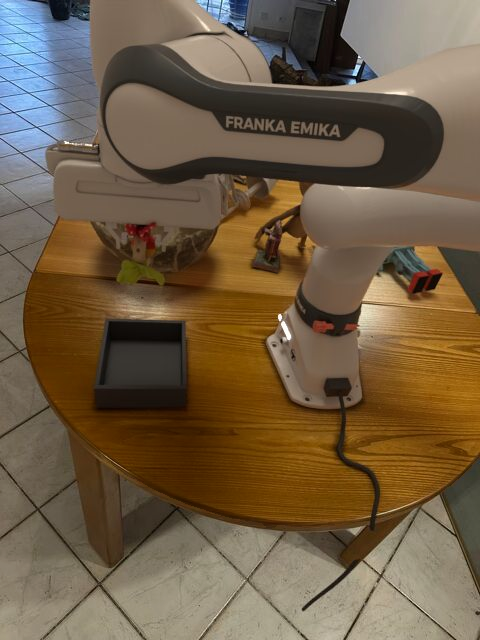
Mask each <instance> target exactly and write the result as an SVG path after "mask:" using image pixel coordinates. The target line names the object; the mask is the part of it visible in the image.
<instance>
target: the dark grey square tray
mask: <svg viewBox="0 0 480 640" xmlns="http://www.w3.org/2000/svg"><path fill="white" fill-rule="evenodd" d="M101 337H102V338H101V342H100V350H99V354H98V359H97V367H96V371H95V380H94V385H93V392H94V393H93V394H94V398H95V403H96V404H95V405H96V408H98V409H99V408H102V409H103V408H105V409H107V408H108V409H109V408H111V409H112V408H186V400H187V393H188V375H187V373H188V372H187V369H188V368H187V367H188V366H187V322H186V320H175V319H174V320H173V319H144V318H143V319H141V318H140V319H139V318H114V317H113V318H112V317H111V318H110V317H109V318H108V317H105V319H104V324H103V330H102V336H101Z"/></svg>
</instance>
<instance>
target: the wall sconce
mask: <svg viewBox="0 0 480 640" xmlns="http://www.w3.org/2000/svg"><path fill="white" fill-rule="evenodd" d="M217 175H218V180H219V186H220V194H221V220H223V219H225V217H227V216H229V214H231V213H232V212H233V211H234V210H236V209H237V208H239V209H240V210H243V211H248V210H249V209H250V207H251V199H250V198H252V197H254V198H256V199H258V200H265V199H267V198H268V197H269V195H270V193H271V192H272V191H273V189H274V187H275V186H276V184H277V183H278V182H279V180H276V179H267V178H258V177H248V176H245V178H246V181H245V184H246V187H247V189H245V191H244V190H242V189H240V188H236V186H235V182H234V181H235V180H233V177H232V175H228V174H222V175H220V174H217ZM222 196H224V202H223V198H222ZM229 200H230V202H231V203H232V205H231V206H230V207H229ZM221 220H220V221H221Z"/></svg>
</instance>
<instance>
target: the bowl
mask: <svg viewBox="0 0 480 640" xmlns="http://www.w3.org/2000/svg"><path fill="white" fill-rule="evenodd" d="M89 223H90V224H91V227H92V228H93V230H94V231H95V233H96V235H97V237H98V239H99V240H100V241H101V243H102V244H103V245H104V247H105V248H106V249H107V250H108V251H109V252H110V253H111V254H112V255H113V256H114V257H115V258H117V259H118V260H120V261H121V263H122V262H123V261H124V260H130V261H131V262H132V257H133V251H132V248H131V242H132V239H133V236H131V235H129V234H128V240H129V244H128V250H123V249H116V239H114V238H113V236H112V235H111V234H110V233H109V232H108V230H107V229H106V223H105V222H92V221H89ZM118 227H119V228H120V230H121V231H122V232H127V231H126V230H125V227H126V224H122V223H118ZM219 227H220V224H219V225H218V226H217V227H216V228H214V229H198V228H183V227H175V230H174V234H173V235H172V236H171V238H170V239H169V240H168V241H167V242H166V250H165V252H161V251H156V252H155V254H154V255H153V256H151V258H150V264H149V266H148V267H150V268H152V269H154V270H156V271H158V272H160V273H161V274H163V275H169V274H175V273H177V272H181V271H183V270H187V269H189V268H190V267H192V266H194V265H196V264H197V263H198V262H199V261H200V260H202V258H203V257H204V256H205V254H206V253H207V252H208V250H209V249H210V247H211V245H212V243H213V242H214V241H215V238H216V236H217V233H218V231H219ZM163 231H164V226H155V227H154V228H152V236H153V237H154V238H155V234H160V235H161V234H162V232H163Z"/></svg>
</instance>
